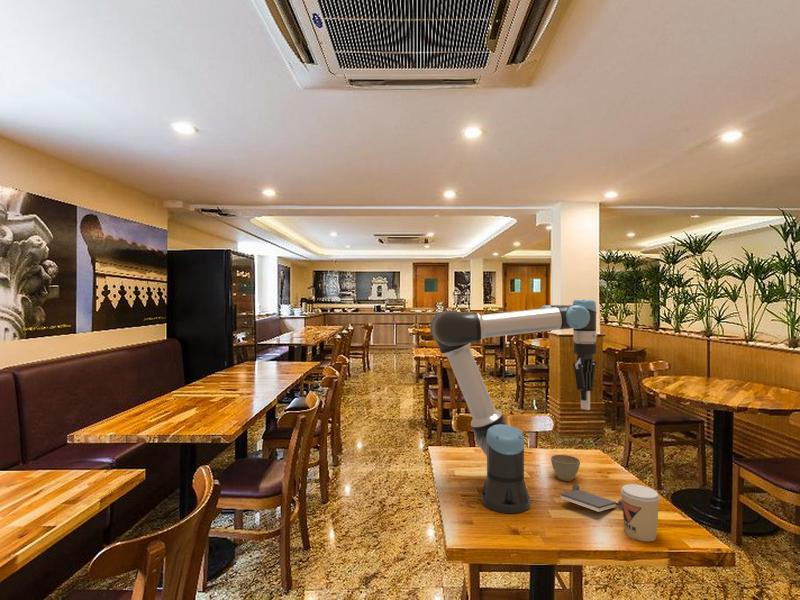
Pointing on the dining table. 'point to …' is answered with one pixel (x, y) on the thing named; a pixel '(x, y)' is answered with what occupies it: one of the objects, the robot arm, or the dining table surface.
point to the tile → (588, 500)
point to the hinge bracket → (620, 506)
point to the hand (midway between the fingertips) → (585, 408)
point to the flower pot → (565, 466)
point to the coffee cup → (640, 511)
